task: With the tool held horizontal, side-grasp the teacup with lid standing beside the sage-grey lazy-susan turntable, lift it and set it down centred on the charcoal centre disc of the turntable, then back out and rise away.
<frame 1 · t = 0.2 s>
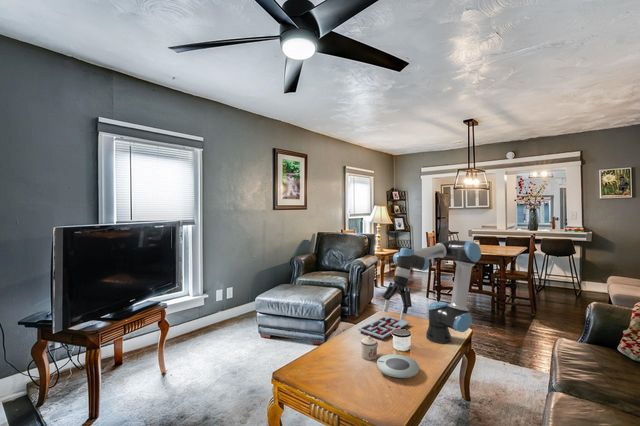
hand: (393, 315, 164), 27 cm above the table, tool tilted 15°, fingers open, 13 cm apart
turntable base: (397, 371, 160), on the table
maze game: (384, 330, 215), on the table
teacup with lid: (370, 356, 177), on the table
turntable: (397, 365, 159), point 3 cm above the table, hinge at 0.0°
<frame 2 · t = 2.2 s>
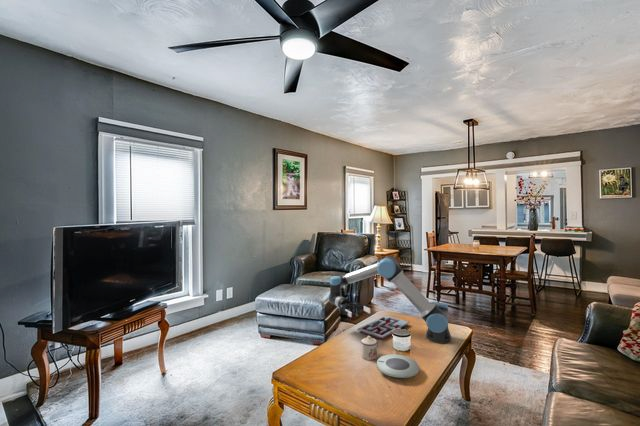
hand: (360, 313, 185), 22 cm above the table, tool horizontal, fingers open, 13 cm apart
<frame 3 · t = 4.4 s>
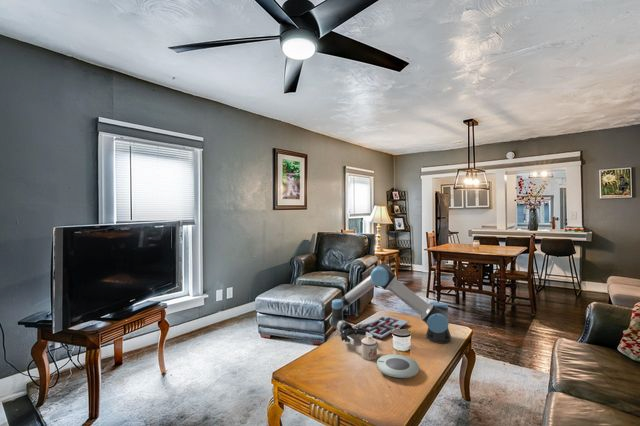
hand: (363, 340, 183), 6 cm above the table, tool horizontal, fingers open, 13 cm apart
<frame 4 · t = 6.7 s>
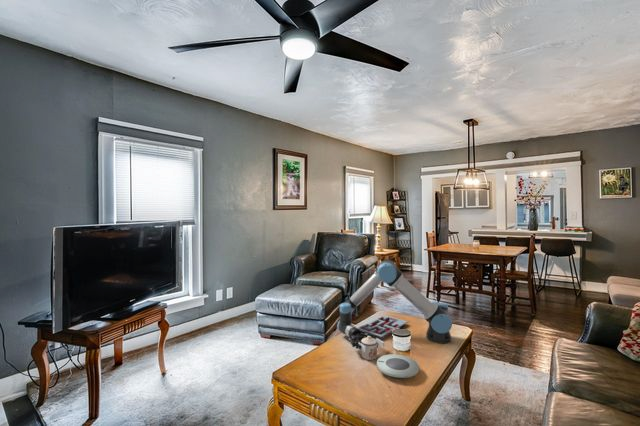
hand: (374, 347, 173), 7 cm above the table, tool horizontal, fingers closed on teacup with lid, 12 cm apart
teacup with lid: (370, 356, 177), on the table, touching gripper
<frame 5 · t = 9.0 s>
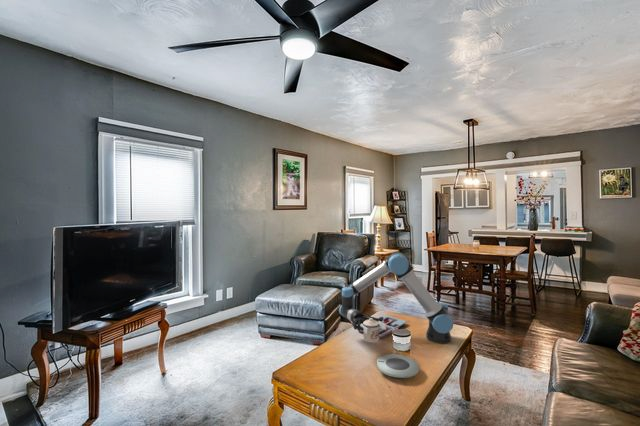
hand: (376, 329, 171), 18 cm above the table, tool horizontal, fingers closed on teacup with lid, 12 cm apart
teacup with lid: (372, 338, 174), point 11 cm above the table, touching gripper
when the fingers open (12 cm above the table, at t = 11.8 s): teacup with lid drops 1 cm, resting on turntable.
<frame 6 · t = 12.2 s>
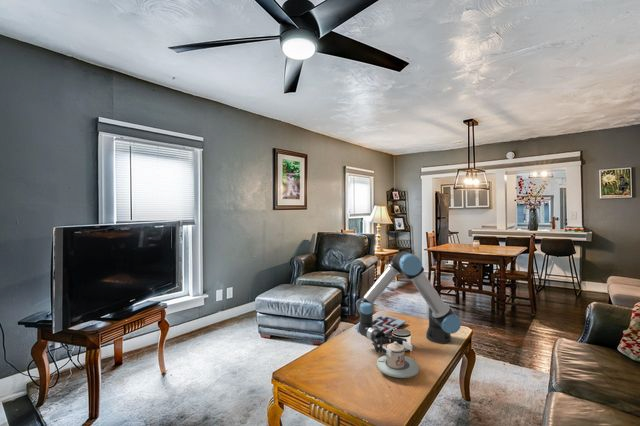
hand: (401, 351, 156), 12 cm above the table, tool horizontal, fingers open, 13 cm apart
teacup with lid: (397, 364, 160), point 4 cm above the table, touching turntable
turntable: (397, 365, 159), point 3 cm above the table, hinge at 0.0°, touching teacup with lid
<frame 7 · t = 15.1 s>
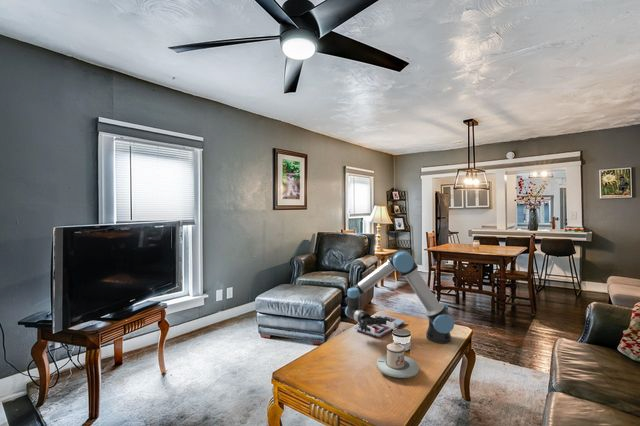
hand: (384, 329, 169), 18 cm above the table, tool horizontal, fingers open, 13 cm apart
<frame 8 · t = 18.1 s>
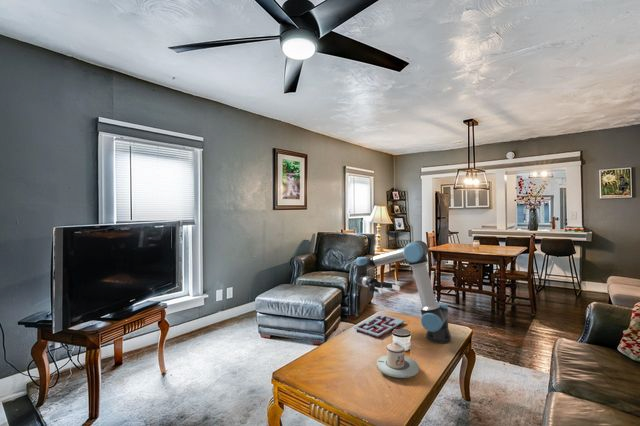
hand: (390, 290, 186), 35 cm above the table, tool horizontal, fingers open, 13 cm apart
at the end: teacup with lid 0.1 cm from the turntable (horizontally); teacup with lid point 3.9 cm above the table; teacup with lid tilted 0° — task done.
